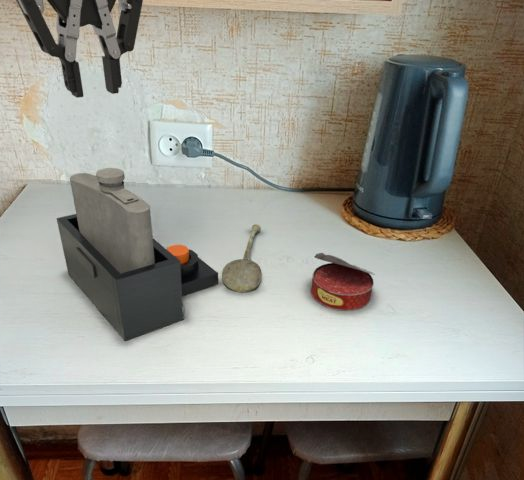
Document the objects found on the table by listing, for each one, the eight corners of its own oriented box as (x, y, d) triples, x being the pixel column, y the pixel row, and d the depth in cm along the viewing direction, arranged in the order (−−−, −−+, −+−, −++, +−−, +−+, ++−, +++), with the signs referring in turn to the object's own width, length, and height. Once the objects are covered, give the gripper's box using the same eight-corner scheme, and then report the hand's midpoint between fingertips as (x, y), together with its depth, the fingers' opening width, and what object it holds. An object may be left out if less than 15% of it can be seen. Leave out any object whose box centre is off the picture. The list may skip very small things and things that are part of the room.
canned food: (306, 311, 87) (295, 253, 85) (358, 297, 90) (349, 240, 87) (334, 320, 77) (322, 255, 74) (392, 304, 79) (383, 240, 77)
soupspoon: (217, 292, 83) (257, 299, 83) (218, 275, 81) (259, 282, 81) (240, 228, 100) (273, 234, 99) (241, 213, 97) (275, 218, 97)
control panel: (170, 300, 80) (168, 278, 77) (140, 272, 85) (138, 251, 83) (218, 284, 84) (218, 263, 81) (186, 258, 90) (186, 238, 87)
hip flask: (85, 283, 82) (61, 158, 69) (107, 274, 84) (88, 152, 72) (146, 327, 74) (132, 195, 61) (168, 316, 76) (159, 186, 64)
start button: (173, 267, 80) (173, 257, 79) (162, 257, 83) (161, 248, 81) (193, 261, 82) (193, 251, 81) (181, 252, 84) (181, 242, 83)
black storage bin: (123, 341, 71) (114, 280, 65) (66, 275, 83) (54, 218, 77) (183, 319, 76) (180, 260, 70) (121, 259, 88) (114, 205, 82)
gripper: (119, -90, 56) (135, 82, 67) (-19, -102, 49) (24, 92, 60) (151, -89, 52) (162, 95, 63) (5, -101, 45) (47, 108, 55)
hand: (95, 93), depth 61 cm, fingers open, 4 cm apart
